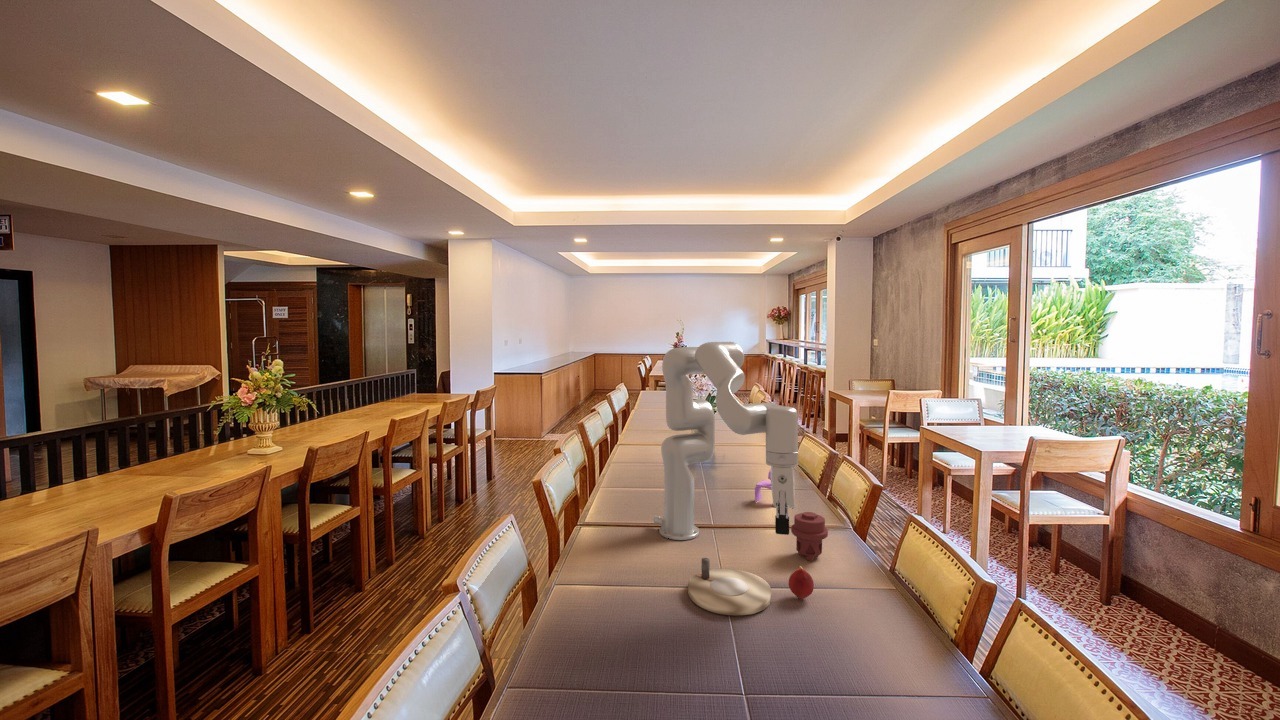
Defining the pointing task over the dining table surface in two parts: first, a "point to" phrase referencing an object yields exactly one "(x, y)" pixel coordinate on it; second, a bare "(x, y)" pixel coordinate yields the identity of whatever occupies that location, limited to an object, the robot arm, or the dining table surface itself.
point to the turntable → (728, 591)
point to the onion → (801, 583)
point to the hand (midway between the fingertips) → (782, 533)
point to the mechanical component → (809, 534)
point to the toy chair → (764, 485)
